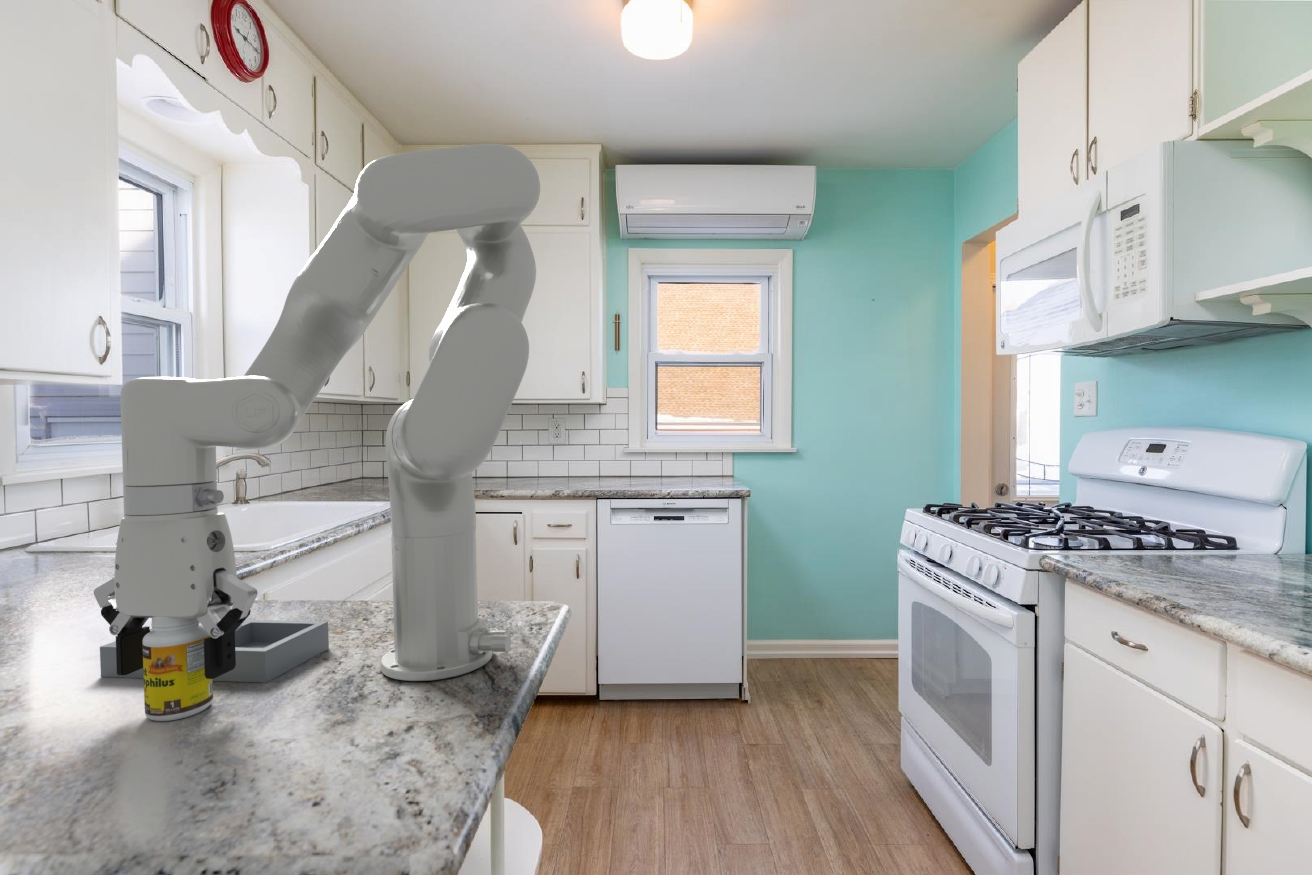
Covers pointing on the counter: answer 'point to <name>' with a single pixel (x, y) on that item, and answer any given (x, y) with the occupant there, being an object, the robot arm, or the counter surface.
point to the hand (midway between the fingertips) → (177, 672)
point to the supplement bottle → (175, 669)
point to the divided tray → (254, 650)
